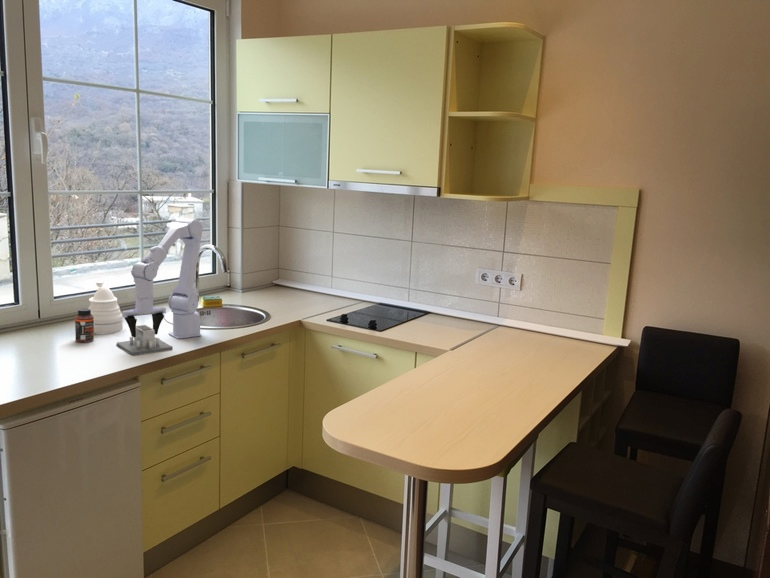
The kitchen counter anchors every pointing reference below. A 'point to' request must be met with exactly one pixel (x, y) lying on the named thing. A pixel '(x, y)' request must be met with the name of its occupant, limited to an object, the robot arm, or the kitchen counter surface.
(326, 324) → the kitchen counter surface
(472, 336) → the kitchen counter surface
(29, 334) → the kitchen counter surface
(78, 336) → the supplement bottle
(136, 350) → the pin tray
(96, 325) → the honey pot
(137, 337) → the block
